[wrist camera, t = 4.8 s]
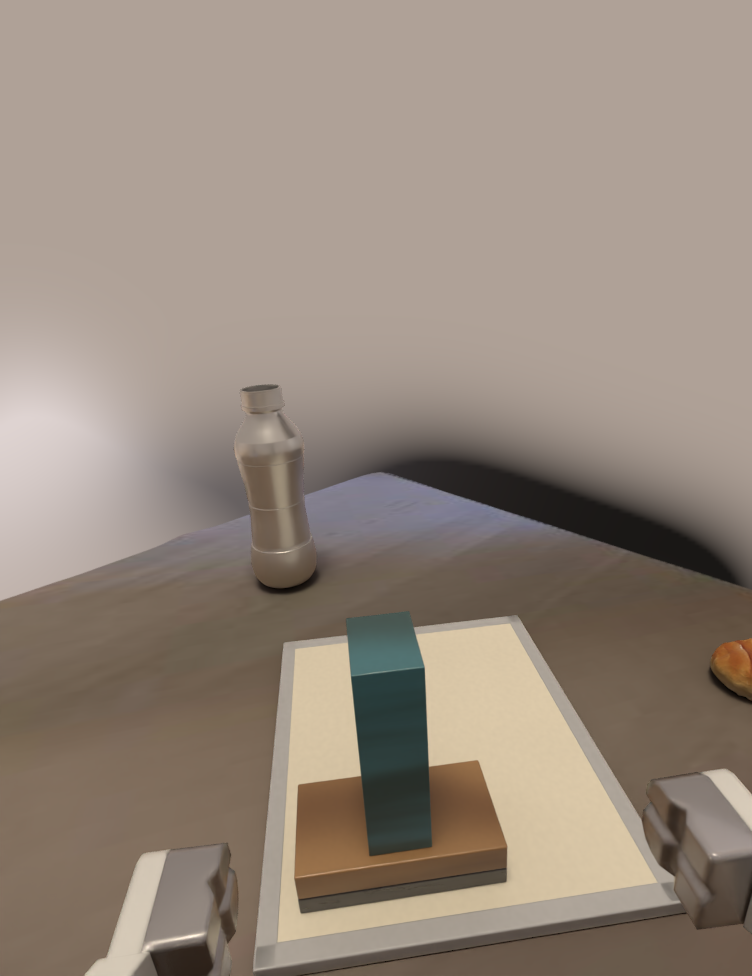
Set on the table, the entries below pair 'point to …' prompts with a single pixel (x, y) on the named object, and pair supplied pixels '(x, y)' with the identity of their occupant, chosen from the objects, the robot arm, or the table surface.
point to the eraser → (393, 793)
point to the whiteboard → (512, 786)
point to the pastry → (734, 666)
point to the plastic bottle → (274, 489)
